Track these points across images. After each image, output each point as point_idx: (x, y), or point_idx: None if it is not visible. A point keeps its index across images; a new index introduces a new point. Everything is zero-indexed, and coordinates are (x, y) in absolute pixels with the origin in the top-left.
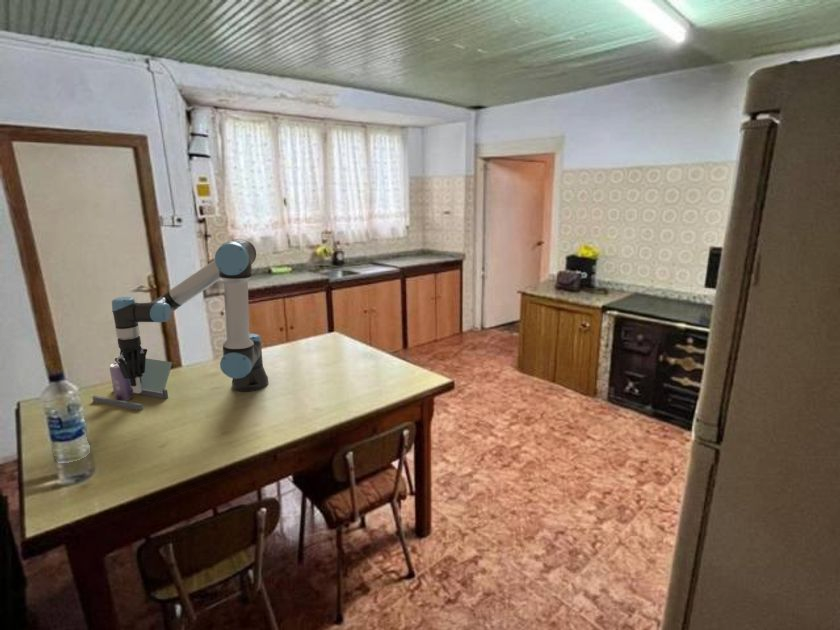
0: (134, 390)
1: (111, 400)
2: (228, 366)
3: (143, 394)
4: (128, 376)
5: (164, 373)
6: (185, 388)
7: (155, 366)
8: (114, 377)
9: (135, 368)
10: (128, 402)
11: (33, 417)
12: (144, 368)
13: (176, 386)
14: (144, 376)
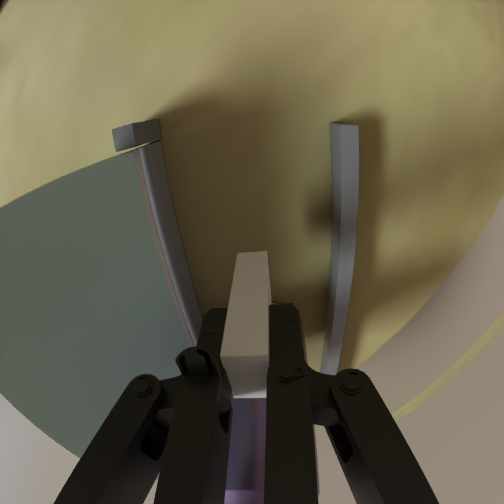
0: (270, 294)
1: (344, 330)
2: None
3: (191, 284)
4: (382, 402)
5: (16, 242)
6: (41, 163)
7: (37, 367)
8: (315, 443)
9: (218, 473)
10: (347, 235)
11: (428, 390)
12: (115, 415)
13: None
14: (132, 364)
